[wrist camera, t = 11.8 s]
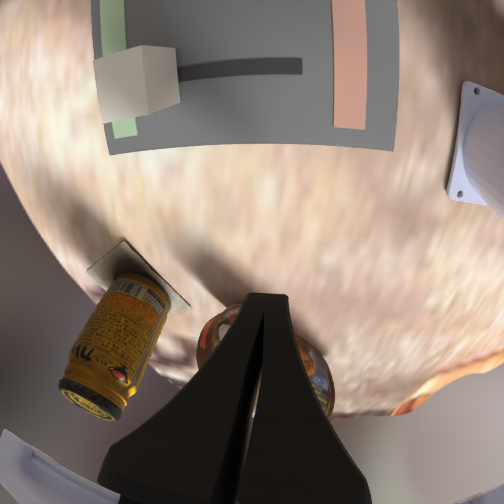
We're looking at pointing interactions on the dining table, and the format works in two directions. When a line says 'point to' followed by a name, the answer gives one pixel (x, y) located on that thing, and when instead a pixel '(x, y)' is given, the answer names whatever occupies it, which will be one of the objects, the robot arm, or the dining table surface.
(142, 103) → the handle
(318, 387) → the tin
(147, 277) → the condiment
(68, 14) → the dining table surface
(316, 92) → the grey board
